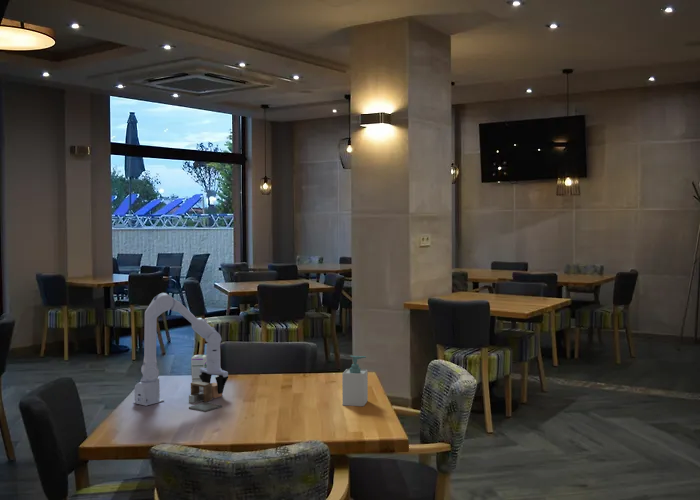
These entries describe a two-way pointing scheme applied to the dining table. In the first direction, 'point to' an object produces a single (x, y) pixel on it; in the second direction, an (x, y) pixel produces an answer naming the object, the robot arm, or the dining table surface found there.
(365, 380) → the soap bottle
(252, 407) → the dining table surface
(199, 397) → the silver square bar
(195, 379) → the syrup box
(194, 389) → the bracket
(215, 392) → the block
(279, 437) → the dining table surface
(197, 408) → the coaster
